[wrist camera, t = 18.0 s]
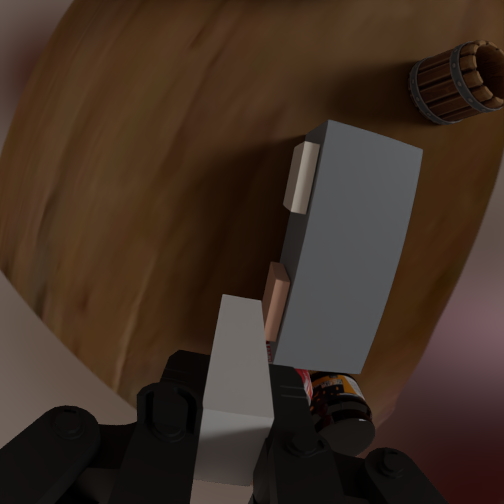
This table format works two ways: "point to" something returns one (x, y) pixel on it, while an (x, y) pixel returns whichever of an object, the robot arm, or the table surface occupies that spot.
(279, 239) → the table surface
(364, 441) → the supplement container
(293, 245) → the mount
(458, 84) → the mug
